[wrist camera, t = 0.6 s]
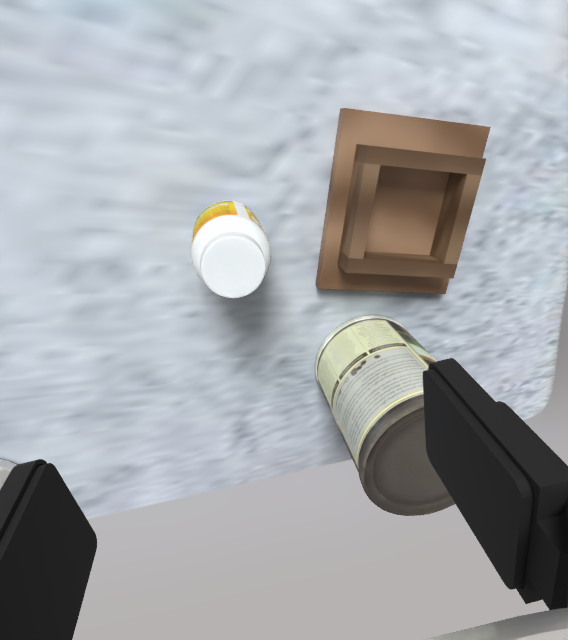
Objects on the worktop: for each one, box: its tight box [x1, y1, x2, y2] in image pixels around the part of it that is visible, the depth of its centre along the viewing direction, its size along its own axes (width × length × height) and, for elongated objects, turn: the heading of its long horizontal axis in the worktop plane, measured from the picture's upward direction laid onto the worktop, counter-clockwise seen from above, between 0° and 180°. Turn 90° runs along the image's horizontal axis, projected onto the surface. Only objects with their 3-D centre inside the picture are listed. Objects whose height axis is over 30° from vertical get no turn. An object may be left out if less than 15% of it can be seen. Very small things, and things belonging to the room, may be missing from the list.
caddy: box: [316, 108, 490, 294], centre depth 35 cm, size 14×12×4 cm
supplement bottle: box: [191, 200, 271, 298], centre depth 31 cm, size 5×5×10 cm
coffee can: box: [315, 315, 455, 516], centre depth 36 cm, size 10×10×14 cm
